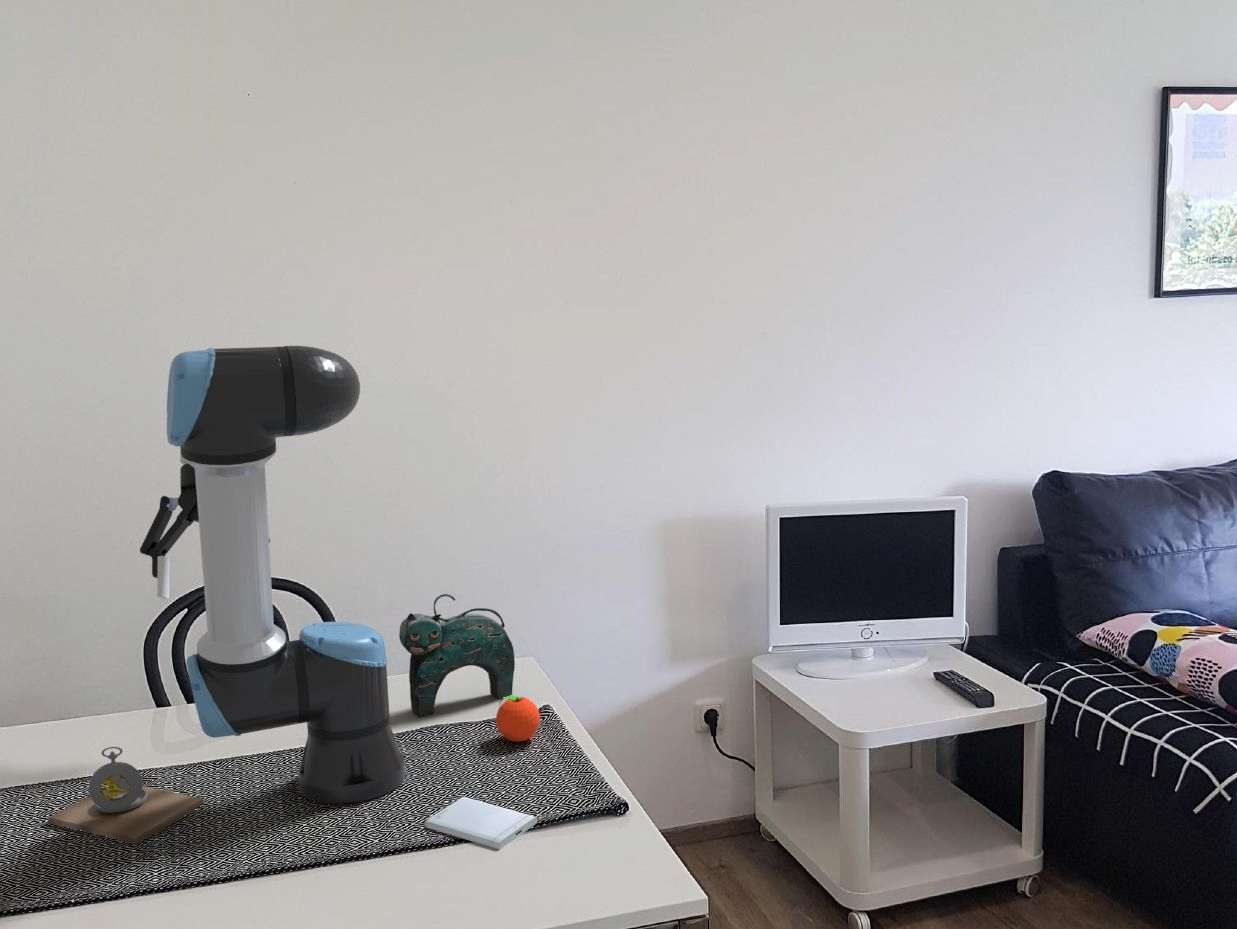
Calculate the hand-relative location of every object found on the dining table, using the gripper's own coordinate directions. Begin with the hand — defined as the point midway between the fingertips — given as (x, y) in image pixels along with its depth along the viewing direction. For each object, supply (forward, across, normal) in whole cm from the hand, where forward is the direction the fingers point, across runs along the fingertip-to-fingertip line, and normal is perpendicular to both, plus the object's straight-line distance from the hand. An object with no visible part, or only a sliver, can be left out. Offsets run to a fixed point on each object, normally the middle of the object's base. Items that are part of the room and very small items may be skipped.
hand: (205, 593), depth 178 cm
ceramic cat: (+20, -36, -20) cm, 46 cm away
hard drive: (+39, -45, +21) cm, 63 cm away
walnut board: (+32, +4, +17) cm, 37 cm away
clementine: (+27, -47, -5) cm, 55 cm away
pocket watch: (+32, +5, +17) cm, 36 cm away
